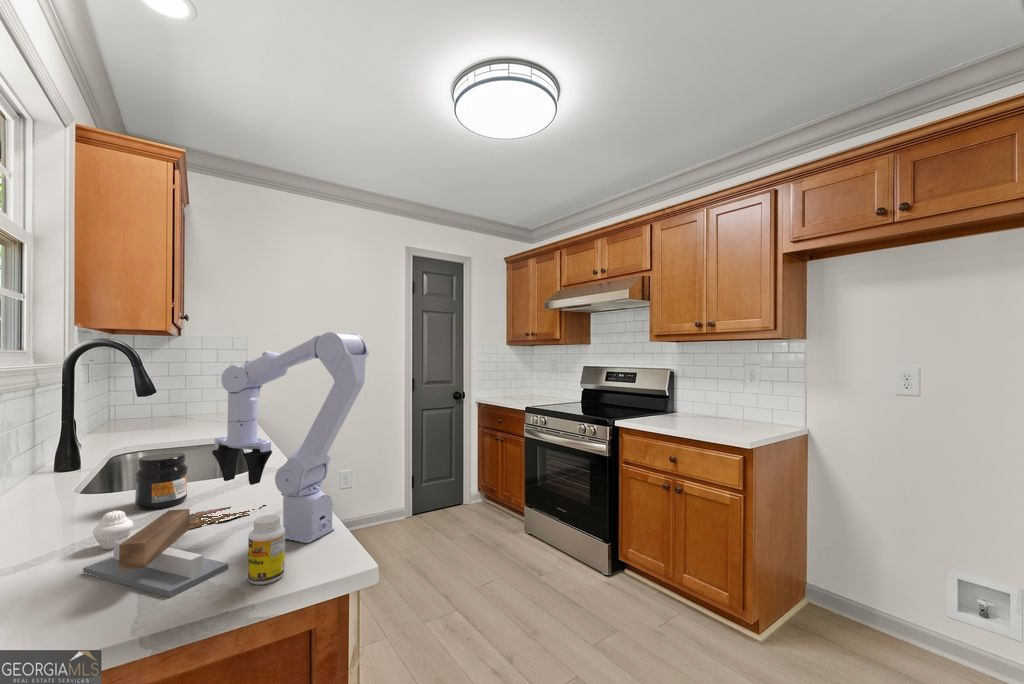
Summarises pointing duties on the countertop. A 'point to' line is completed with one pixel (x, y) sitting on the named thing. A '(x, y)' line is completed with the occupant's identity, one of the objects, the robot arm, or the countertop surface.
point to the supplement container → (161, 480)
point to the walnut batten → (153, 539)
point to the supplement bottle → (266, 550)
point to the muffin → (112, 529)
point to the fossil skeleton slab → (209, 517)
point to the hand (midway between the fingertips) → (241, 481)
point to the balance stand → (160, 571)
